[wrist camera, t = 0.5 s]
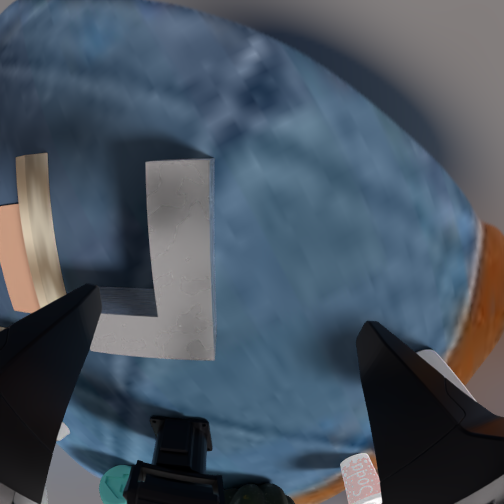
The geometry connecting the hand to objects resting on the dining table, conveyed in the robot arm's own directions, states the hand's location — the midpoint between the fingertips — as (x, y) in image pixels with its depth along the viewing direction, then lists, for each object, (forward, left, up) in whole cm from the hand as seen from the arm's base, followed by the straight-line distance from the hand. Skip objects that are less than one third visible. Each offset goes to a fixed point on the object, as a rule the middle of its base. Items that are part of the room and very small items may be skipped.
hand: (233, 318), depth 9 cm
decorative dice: (-40, +16, -12) cm, 45 cm away
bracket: (-2, +6, -12) cm, 13 cm away
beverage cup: (-36, -18, -12) cm, 42 cm away
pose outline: (-3, +25, -12) cm, 28 cm away
